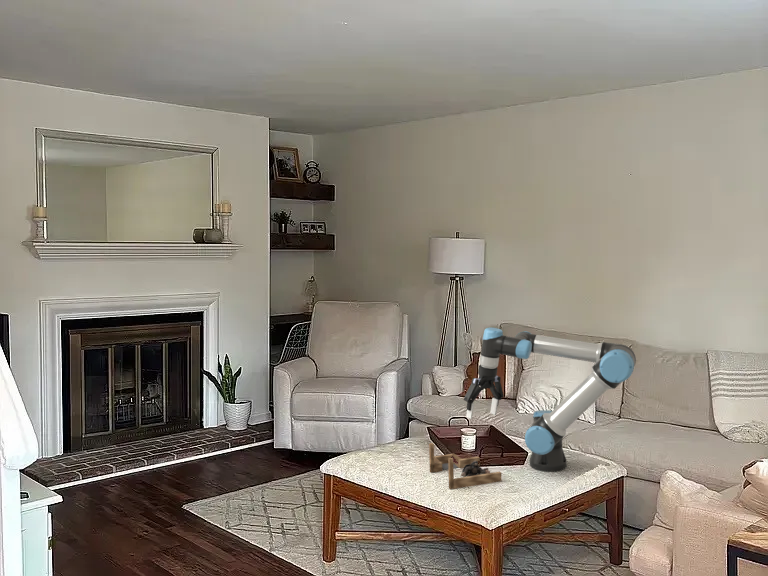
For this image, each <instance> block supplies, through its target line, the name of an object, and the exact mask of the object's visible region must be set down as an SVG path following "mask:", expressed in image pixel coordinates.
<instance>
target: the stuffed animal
mask: <svg viewBox="0 0 768 576" xmlns="http://www.w3.org/2000/svg"><path fill="white" fill-rule="evenodd" d="M487 473H491V470H489V468H488V467H485V468H482V467H481V466H478V461H473V462H472V463H471V464H467V465H466V466H465V467H464V468H462V470H461V473H460V477H468V476H474V475H480V474H487Z"/></svg>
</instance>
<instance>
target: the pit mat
mask: <svg viewBox="0 0 768 576" xmlns="http://www.w3.org/2000/svg"><path fill="white" fill-rule="evenodd" d="M453 466H454V469H459V467H457V466H456V465H455V464H454V463H453ZM442 471H448V463H445V464H442Z"/></svg>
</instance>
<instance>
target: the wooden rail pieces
mask: <svg viewBox="0 0 768 576" xmlns="http://www.w3.org/2000/svg"><path fill="white" fill-rule="evenodd" d="M428 451H429V452H428V454H429V458H428V459H429V460H428V461H429V473H431V474H434V473H439V472H440V473H441V472H443V470H442V464H445V463H448V470H447V471H448V489H449V490H456V489H461V488H469V487H473V486H475V487H476V486H481V485H487V484H493V483H494V484H495V483H499V482H502V472H501V471H495V472H490V473H487V474H482V473H479V474H480V475H479V474H477V475H474V476H468V477H467V476H466V477H464V476H460V477H456V478H455V476H454V466H453V463H454V462H453V458H451V457H452V456H453V457H454V458H455V459H456V461H457V462H458V464H456V463H454V464H455V465H456V466H457V467H458V469H463V468H464V467H465V466H466V465H467V464H471V463H472V462H473V461H480V457H479V456H473V457H472V456H471V457H466V458H462V457H460V456H458V455H457V454H456V453H449V454H441V455H435V444H434V443H433V442H431V443H429V444H428ZM478 467H481V461H480V463H479V464H478Z"/></svg>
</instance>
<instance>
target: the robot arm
mask: <svg viewBox="0 0 768 576" xmlns="http://www.w3.org/2000/svg"><path fill="white" fill-rule="evenodd" d="M503 333H504V331H503V330H502V329H500V328H498V327H487V328H485V329H484V331H483V336H482V343H481V350H480V357H479V365H478V370H477V371H478V372H477V373H478V378H475V377H472V380H471V384H470V386H469V387H468V389H467V391H466V393H465V395H464V397H463V401H465V402H467V403H466V418H468V419H470V420H472V419H473V414H474V408H475V403H474V402H475V400H476V399H477V398H478V397H479V395H480V393H481V392H482V391H483V390H486V389H489V390H490V392H491V394H492V396H493V397H492V399H491V404H490V410H489V411H490V412H489V413H490V414H491V415H493V416H496V415H497V411H498V407H499V403H500V401H501V400H502V398H504V392H503V391H504V390H503V387H502V384H501V383H502V382H501V379H502V378H501V376H499V375H498V366H499V362H500V355H504V356H508V357H513V358H517V359H525V360H528V359H530V356H531V354H541V355H546V356H553V357H558V358H565V359H569V360H571V359H572V360H578V361H584V362H587V363H588V362H590V363H595V364H593V366H591V373H590V374H589V375H588V376H587V377H586V378H585V379H584V380H583V381H582V382H581V383H580V384H579V385H578V386H577V387H576V388H574V390H572V391H571V393H569V394H568V395H567V396H566V397H565V398H564V399H563V400H562V401H561V402H560V403H558V405H557V406H556V407H554V409H553V410H545V409H543V410H535V411H534V412H533V415H532V417H533V423H532V424H531V425H530V426H529V428H528V429H526V431H525V436H524V443H525V446H526V447H527V448H528V450H529V451H531V454H530V457H529V466H530V467H531V468H532V469H534V470H537V471H541V472H561V471H563V470H565V469H566V468H567V467H568V462H567V458H566V455H565V453H564V448H563V438H564V437H565V436H566V435H567V432H566V431H567V429H568V428H569V427H570V426H571V425H572V424H574V423H575V421H577V420H578V418H580V416H582V415H583V413H585V412H586V411H587V410H588V409H589V408H590V407H591V406H592V405H593V404H595V403H596V402H597V401H598V399H600V397H602V396H603V395H604V394H605V393H607V391H608V390H615V389H616V388H618V386H620V384H621V383H623V382H625V381H627V380H628V379H629V378H630V377H631V376H632V374H633V372H634V368H635V365H636V361H637V359H636V358H637V357H636V355H635V352H634V351H633V349H632V348H631V347H629V346H627V345H625V344H621V343H614V342H613V343H612V342H605V341H602V342H600V343H595V342H588V341H580V340H575V339H567V338H560V337H556V336H555V337H554V336H549V335H548V336H547V335H541V334H534V333H531V332H529V331H526V330H525V331H521V332H518V333H517V334H515V336H514V337H513V336H512V337H511V336H507V335H504V334H503Z"/></svg>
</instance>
